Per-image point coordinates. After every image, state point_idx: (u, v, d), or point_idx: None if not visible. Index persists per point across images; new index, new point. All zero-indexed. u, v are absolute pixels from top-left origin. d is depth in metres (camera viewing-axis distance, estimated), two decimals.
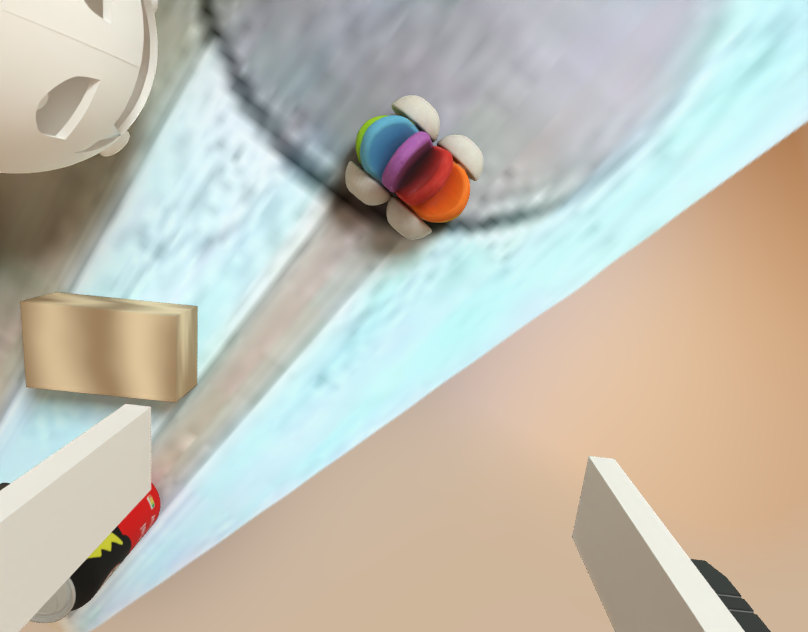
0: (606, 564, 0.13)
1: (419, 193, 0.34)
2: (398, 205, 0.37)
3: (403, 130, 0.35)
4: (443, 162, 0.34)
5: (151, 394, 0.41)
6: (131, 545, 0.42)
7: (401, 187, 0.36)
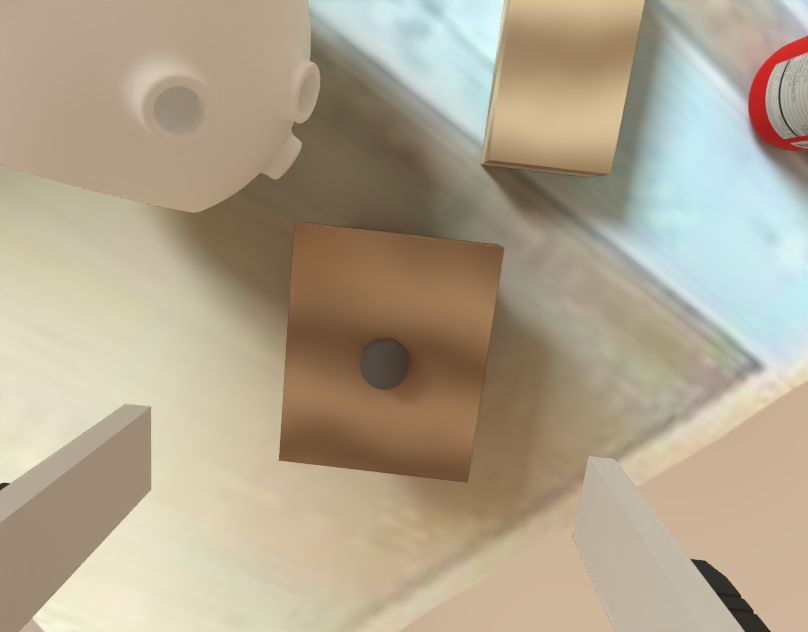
0: (607, 565, 0.13)
1: None
2: None
3: None
4: None
5: None
6: None
7: None
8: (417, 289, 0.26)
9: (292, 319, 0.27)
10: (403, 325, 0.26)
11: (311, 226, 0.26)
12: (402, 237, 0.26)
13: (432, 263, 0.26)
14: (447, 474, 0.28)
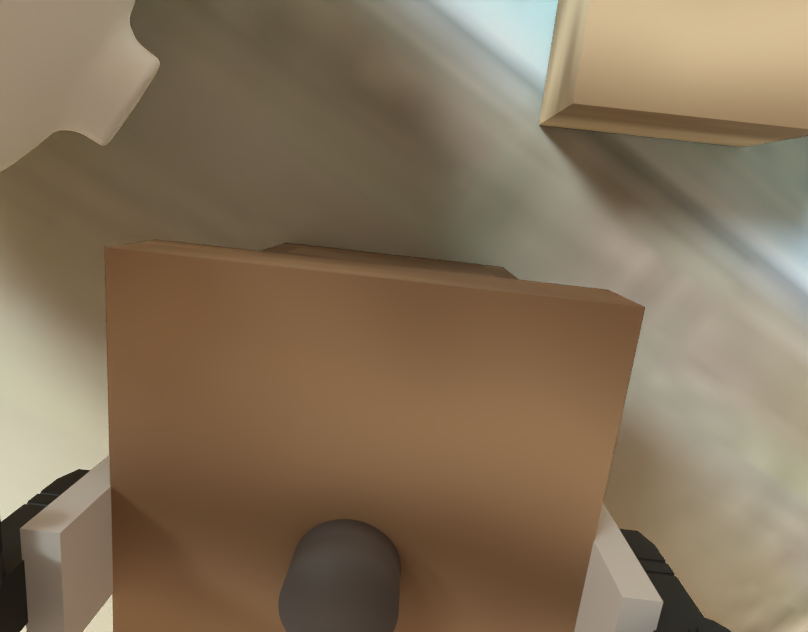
0: None
1: None
2: None
3: None
4: None
5: None
6: None
7: None
8: (421, 408, 0.10)
9: (120, 476, 0.11)
10: (387, 490, 0.11)
11: (149, 254, 0.10)
12: (382, 281, 0.10)
13: (460, 346, 0.10)
14: None
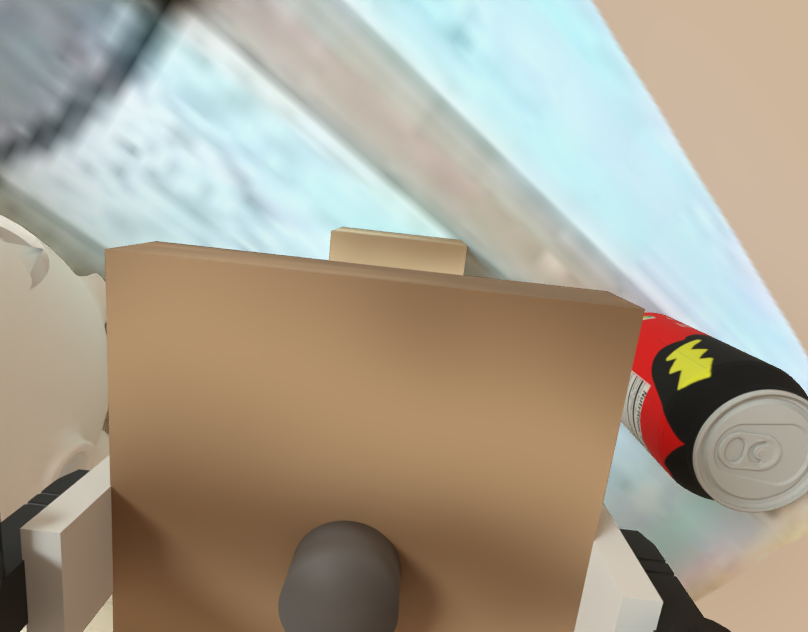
0: None
1: None
2: None
3: None
4: None
5: None
6: (708, 336, 0.25)
7: None
8: (421, 410, 0.10)
9: (120, 478, 0.11)
10: (387, 492, 0.11)
11: (149, 256, 0.10)
12: (382, 283, 0.10)
13: (460, 347, 0.10)
14: None
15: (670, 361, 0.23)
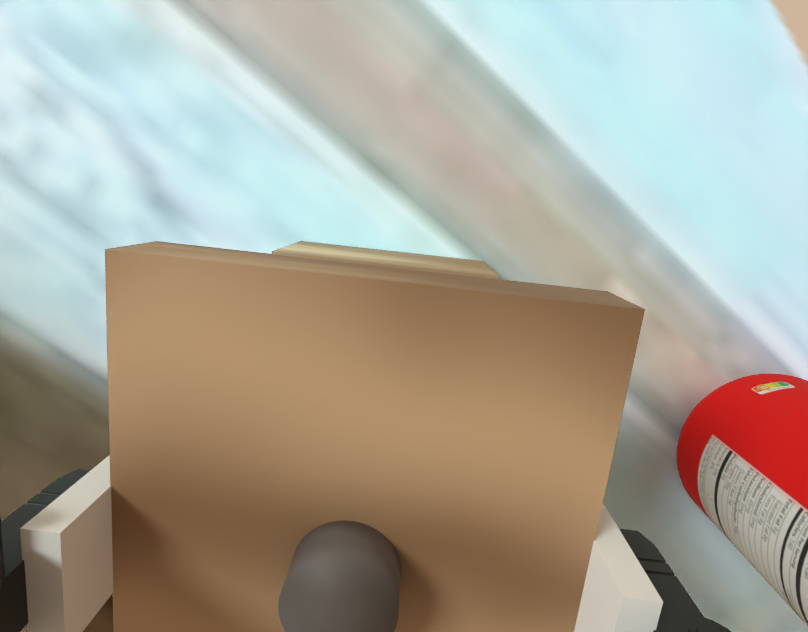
0: None
1: None
2: None
3: None
4: None
5: None
6: None
7: None
8: (421, 410, 0.10)
9: (120, 478, 0.11)
10: (387, 492, 0.11)
11: (149, 256, 0.10)
12: (382, 283, 0.10)
13: (460, 347, 0.10)
14: None
15: None
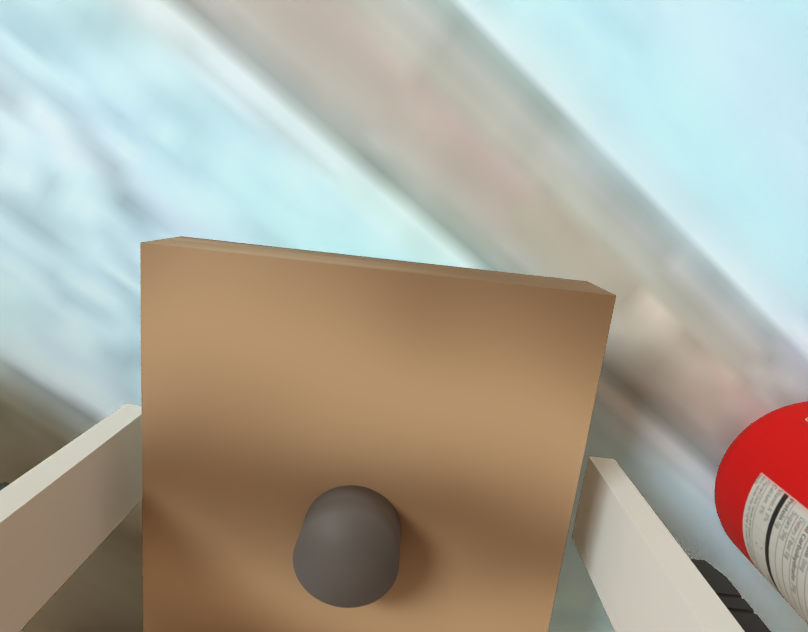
0: (606, 564, 0.13)
1: None
2: None
3: None
4: None
5: None
6: None
7: None
8: (419, 385, 0.12)
9: (151, 447, 0.12)
10: (389, 459, 0.12)
11: (179, 249, 0.11)
12: (385, 272, 0.11)
13: (453, 330, 0.12)
14: None
15: None
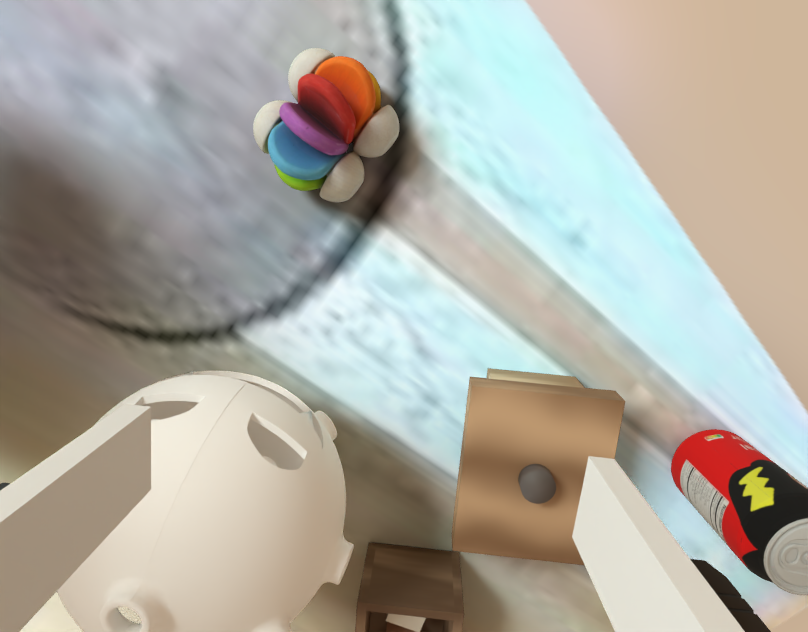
0: (607, 565, 0.13)
1: (339, 108, 0.32)
2: (360, 140, 0.35)
3: (282, 133, 0.34)
4: (307, 83, 0.32)
5: None
6: (766, 460, 0.36)
7: (340, 135, 0.34)
8: (560, 430, 0.36)
9: (467, 451, 0.37)
10: (549, 454, 0.36)
11: (484, 387, 0.35)
12: (550, 394, 0.35)
13: (572, 412, 0.35)
14: (579, 560, 0.38)
15: (742, 486, 0.34)
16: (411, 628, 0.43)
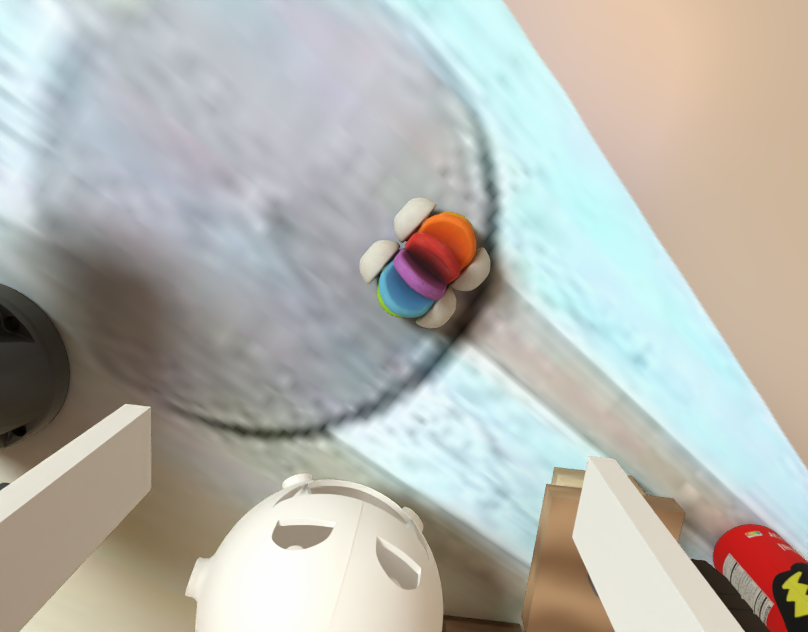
0: (606, 565, 0.13)
1: (450, 266, 0.36)
2: (458, 281, 0.39)
3: (392, 277, 0.38)
4: (422, 243, 0.36)
5: None
6: (803, 562, 0.41)
7: (442, 279, 0.39)
8: None
9: (544, 552, 0.41)
10: None
11: (563, 499, 0.40)
12: None
13: None
14: None
15: (786, 590, 0.39)
16: None
